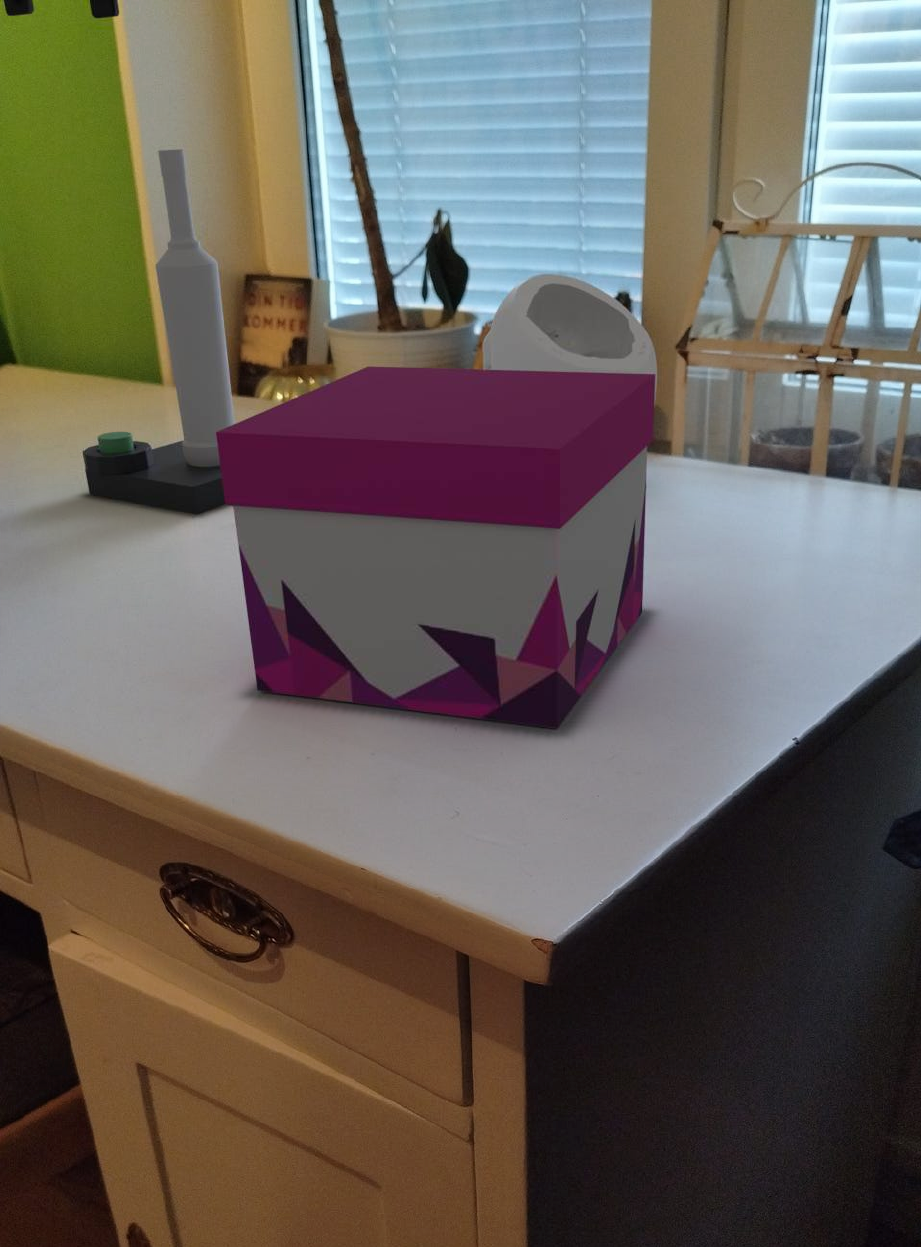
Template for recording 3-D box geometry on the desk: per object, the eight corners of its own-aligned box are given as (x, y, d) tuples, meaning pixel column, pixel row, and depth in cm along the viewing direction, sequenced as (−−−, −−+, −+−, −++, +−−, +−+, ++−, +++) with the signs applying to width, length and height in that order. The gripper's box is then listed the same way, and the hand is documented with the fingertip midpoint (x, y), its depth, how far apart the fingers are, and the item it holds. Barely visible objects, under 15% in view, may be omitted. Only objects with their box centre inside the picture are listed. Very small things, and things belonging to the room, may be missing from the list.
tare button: (93, 454, 113) (90, 437, 113) (119, 447, 116) (116, 430, 115) (115, 458, 112) (112, 440, 111) (141, 451, 114) (138, 433, 113)
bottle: (175, 467, 113) (127, 152, 101) (198, 453, 117) (155, 150, 105) (228, 468, 112) (186, 150, 100) (250, 454, 116) (213, 147, 104)
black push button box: (78, 496, 115) (69, 452, 113) (182, 464, 124) (176, 423, 122) (188, 517, 107) (181, 470, 105) (291, 481, 116) (286, 437, 114)
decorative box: (384, 588, 89) (368, 366, 82) (647, 612, 83) (655, 374, 75) (250, 693, 74) (215, 432, 67) (560, 733, 67) (559, 448, 60)
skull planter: (574, 416, 126) (612, 238, 111) (647, 556, 116) (701, 382, 100) (443, 431, 123) (463, 250, 107) (506, 577, 113) (539, 400, 97)
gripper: (77, -201, 115) (111, 21, 123) (-92, -231, 103) (-42, 17, 111) (133, -215, 111) (163, 15, 119) (-37, -248, 99) (11, 10, 107)
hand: (64, 16), depth 115 cm, fingers open, 9 cm apart
